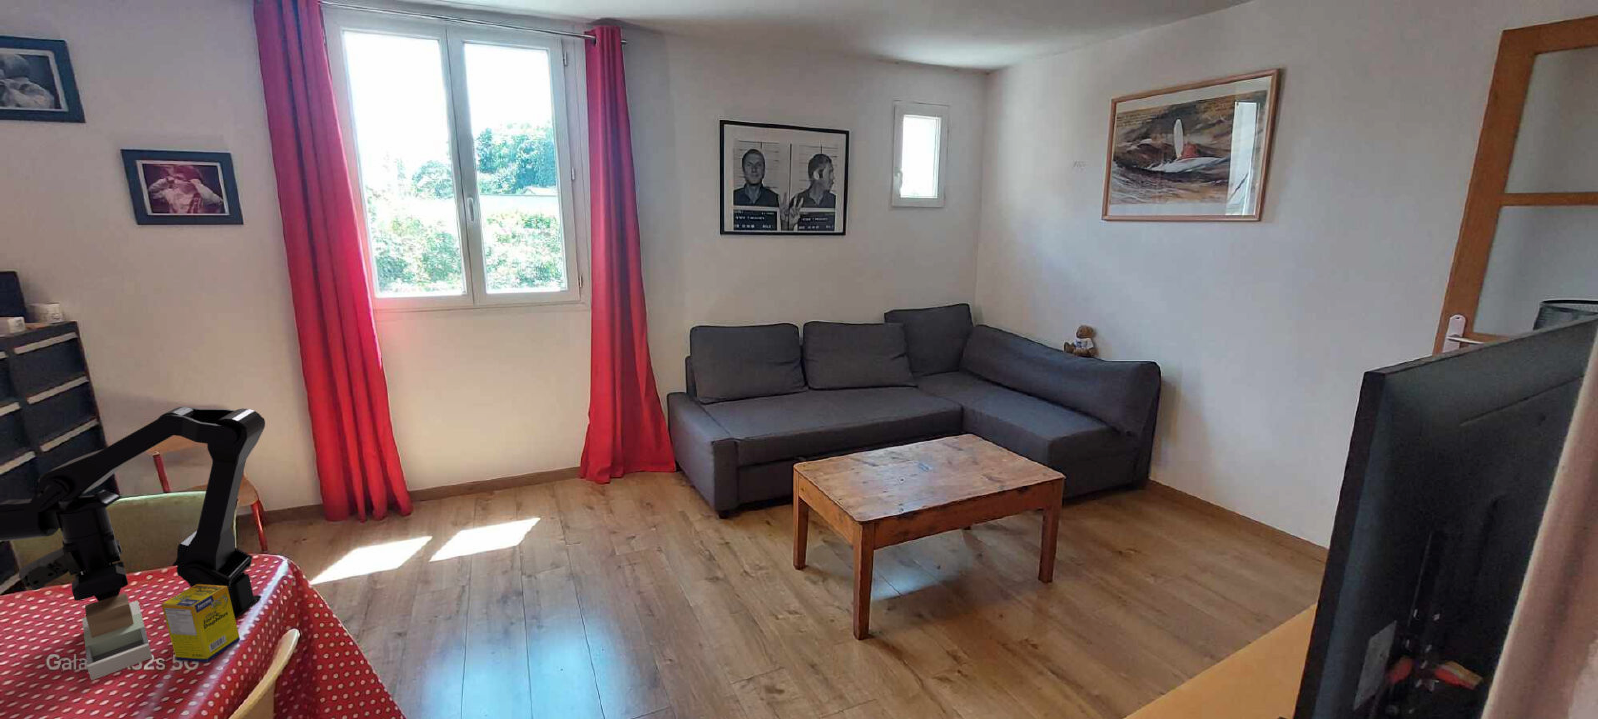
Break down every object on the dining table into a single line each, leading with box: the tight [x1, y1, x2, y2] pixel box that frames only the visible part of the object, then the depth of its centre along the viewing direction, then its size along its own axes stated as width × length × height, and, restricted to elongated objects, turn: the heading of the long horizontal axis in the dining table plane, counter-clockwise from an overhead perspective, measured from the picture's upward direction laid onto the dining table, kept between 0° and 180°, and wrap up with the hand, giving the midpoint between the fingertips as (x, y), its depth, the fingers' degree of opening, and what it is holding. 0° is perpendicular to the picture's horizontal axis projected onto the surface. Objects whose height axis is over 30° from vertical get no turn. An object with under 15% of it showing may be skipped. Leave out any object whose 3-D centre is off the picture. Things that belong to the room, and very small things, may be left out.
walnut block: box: [84, 592, 134, 638], centre depth 111 cm, size 5×5×4 cm
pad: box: [83, 612, 148, 657], centre depth 111 cm, size 6×7×2 cm
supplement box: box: [161, 584, 241, 664], centre depth 108 cm, size 6×6×11 cm
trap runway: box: [81, 600, 153, 681], centre depth 112 cm, size 22×7×2 cm, turn 49°
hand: (110, 609), depth 114 cm, fingers closed
